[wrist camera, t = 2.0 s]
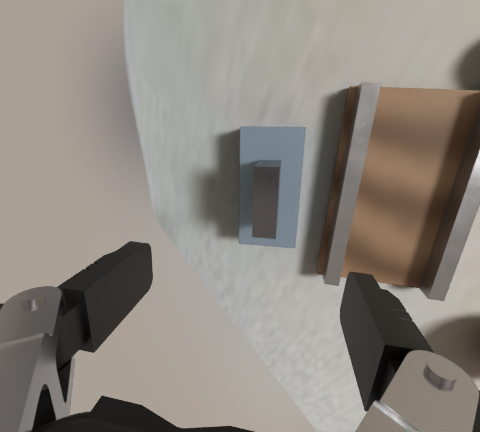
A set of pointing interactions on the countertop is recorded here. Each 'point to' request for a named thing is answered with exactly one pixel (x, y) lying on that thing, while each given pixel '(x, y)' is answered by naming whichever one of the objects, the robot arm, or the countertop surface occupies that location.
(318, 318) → the countertop surface
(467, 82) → the countertop surface
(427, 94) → the tray
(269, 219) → the blue block with handle
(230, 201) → the countertop surface
